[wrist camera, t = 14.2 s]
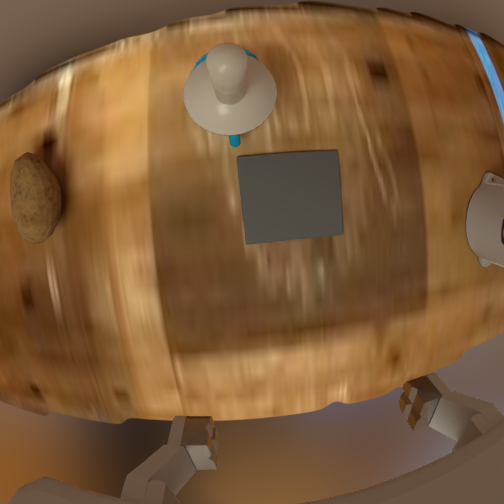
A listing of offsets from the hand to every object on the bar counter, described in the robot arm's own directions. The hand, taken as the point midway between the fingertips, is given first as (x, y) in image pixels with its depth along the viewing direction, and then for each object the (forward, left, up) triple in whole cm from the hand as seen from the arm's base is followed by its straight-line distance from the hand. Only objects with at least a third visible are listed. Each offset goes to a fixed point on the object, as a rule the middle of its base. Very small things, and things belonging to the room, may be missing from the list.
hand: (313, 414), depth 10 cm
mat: (-5, -6, -31) cm, 32 cm away
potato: (+33, -12, -31) cm, 47 cm away
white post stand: (+2, -19, -23) cm, 30 cm away
